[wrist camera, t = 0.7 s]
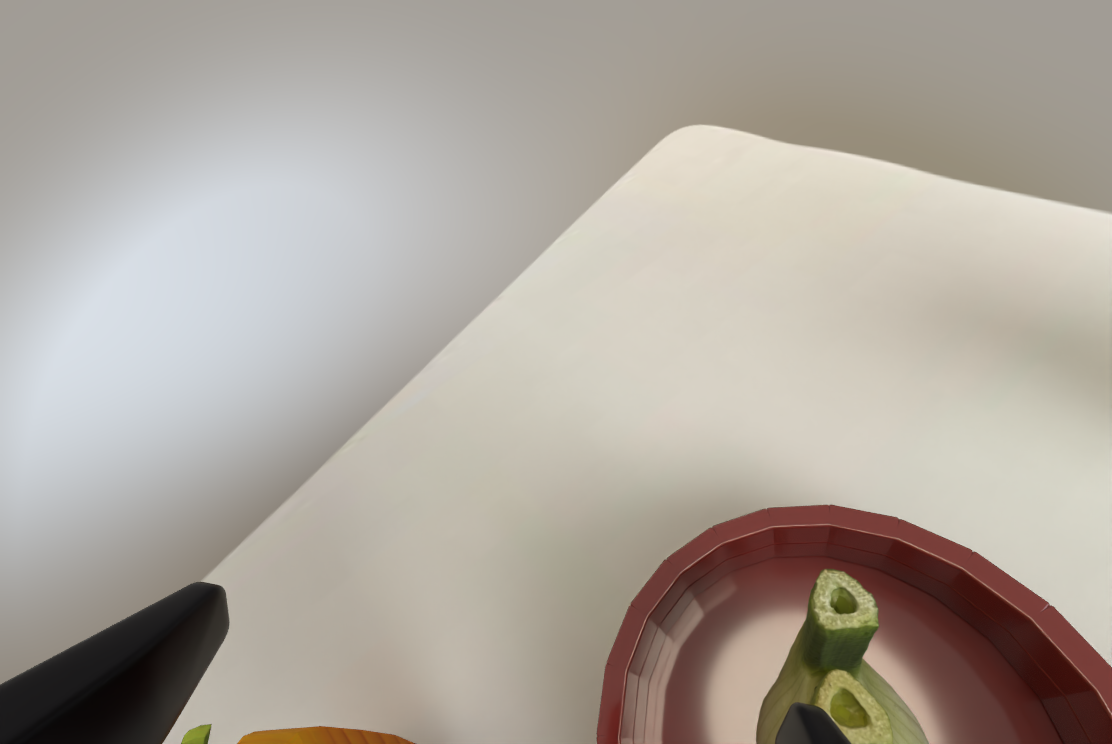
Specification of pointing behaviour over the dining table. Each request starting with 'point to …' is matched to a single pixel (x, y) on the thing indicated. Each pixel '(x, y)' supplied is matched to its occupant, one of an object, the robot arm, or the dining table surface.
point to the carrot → (301, 736)
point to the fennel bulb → (839, 670)
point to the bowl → (894, 651)
